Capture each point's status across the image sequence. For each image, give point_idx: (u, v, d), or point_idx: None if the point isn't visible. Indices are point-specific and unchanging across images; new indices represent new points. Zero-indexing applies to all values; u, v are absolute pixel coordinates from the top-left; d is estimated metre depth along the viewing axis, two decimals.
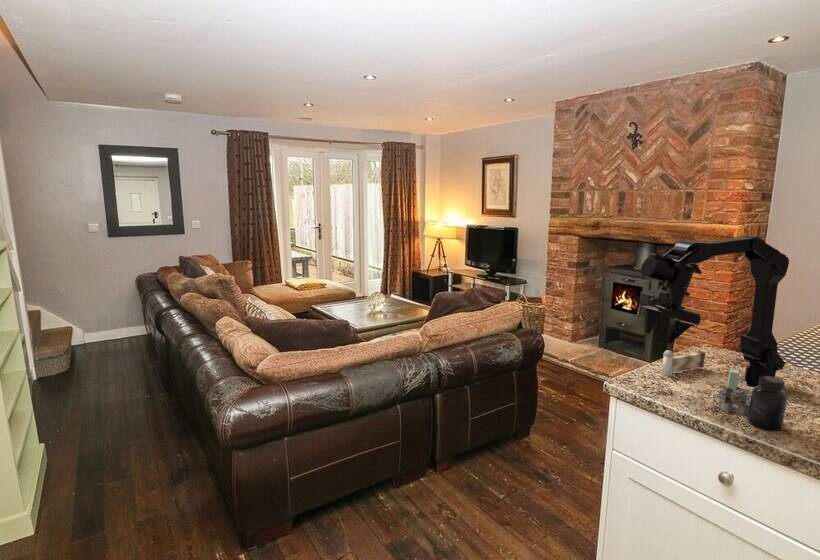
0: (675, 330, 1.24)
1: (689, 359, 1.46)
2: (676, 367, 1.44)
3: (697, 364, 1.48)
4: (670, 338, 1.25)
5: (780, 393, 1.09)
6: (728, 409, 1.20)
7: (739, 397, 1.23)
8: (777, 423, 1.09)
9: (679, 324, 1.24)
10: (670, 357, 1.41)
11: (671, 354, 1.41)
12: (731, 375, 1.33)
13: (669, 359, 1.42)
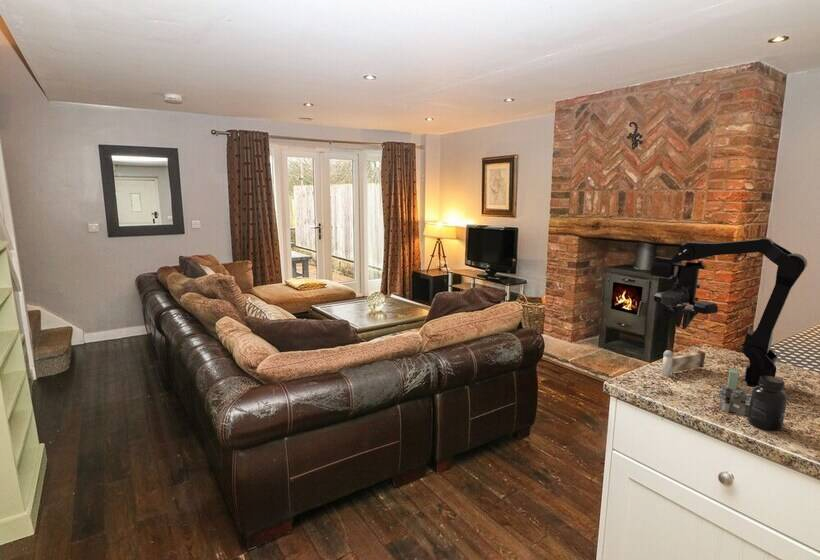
0: (688, 318, 1.47)
1: (689, 359, 1.46)
2: (676, 367, 1.44)
3: (697, 364, 1.48)
4: (685, 325, 1.48)
5: (780, 393, 1.09)
6: (729, 409, 1.20)
7: (739, 397, 1.23)
8: (777, 423, 1.09)
9: None
10: (670, 357, 1.41)
11: (671, 354, 1.41)
12: (731, 375, 1.33)
13: (669, 359, 1.42)
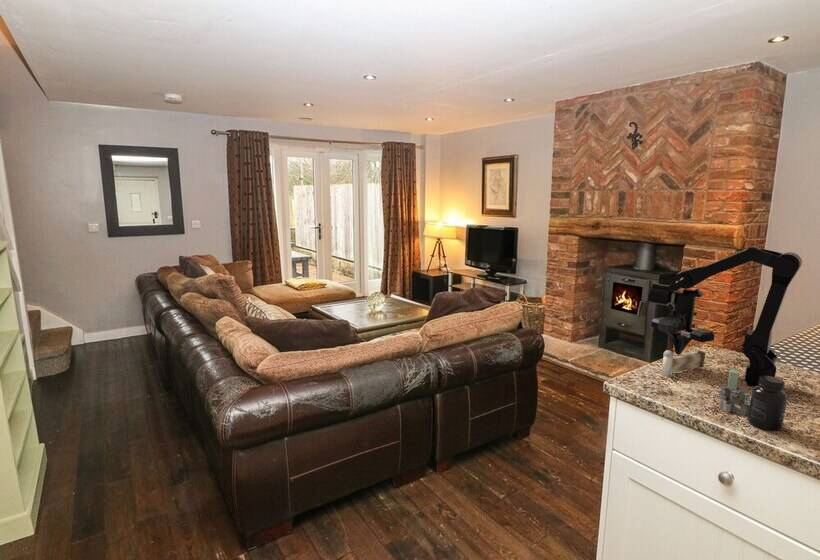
0: (682, 343, 1.49)
1: (689, 359, 1.46)
2: (676, 367, 1.44)
3: (697, 364, 1.48)
4: (679, 350, 1.50)
5: (780, 393, 1.09)
6: (730, 410, 1.20)
7: (738, 397, 1.23)
8: (777, 423, 1.09)
9: None
10: (670, 357, 1.41)
11: (671, 354, 1.41)
12: (731, 375, 1.33)
13: (669, 359, 1.42)
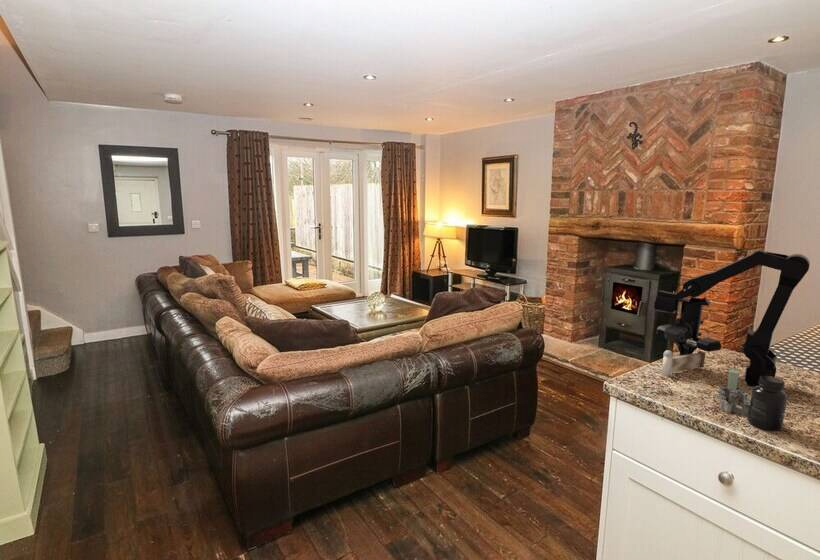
0: (688, 352, 1.48)
1: (689, 359, 1.46)
2: (676, 367, 1.44)
3: (697, 364, 1.48)
4: None
5: (780, 393, 1.09)
6: (731, 410, 1.19)
7: (738, 397, 1.23)
8: (777, 423, 1.09)
9: None
10: (670, 357, 1.41)
11: (671, 354, 1.41)
12: (731, 375, 1.33)
13: (669, 359, 1.42)
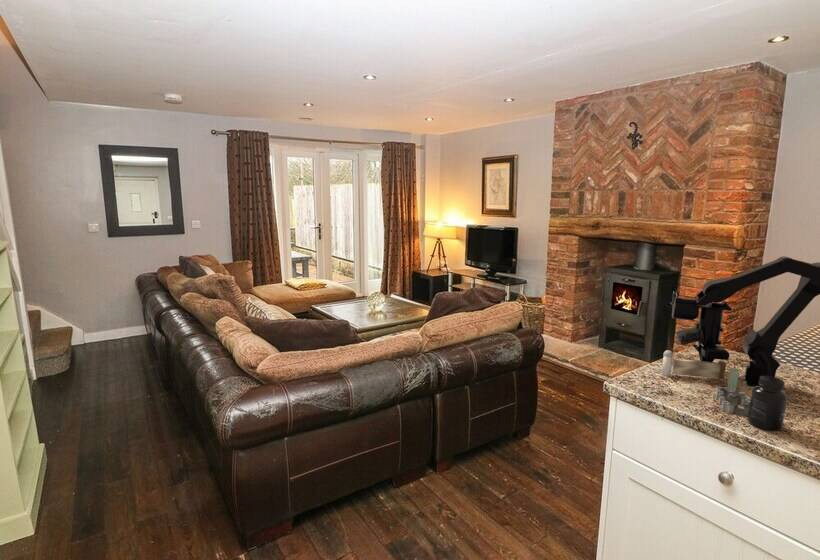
0: (705, 359, 1.41)
1: (701, 366, 1.40)
2: (679, 370, 1.42)
3: (714, 374, 1.40)
4: None
5: (780, 393, 1.09)
6: (733, 411, 1.19)
7: (737, 396, 1.23)
8: (777, 423, 1.09)
9: None
10: (670, 357, 1.41)
11: (671, 354, 1.41)
12: (731, 375, 1.33)
13: (669, 359, 1.42)
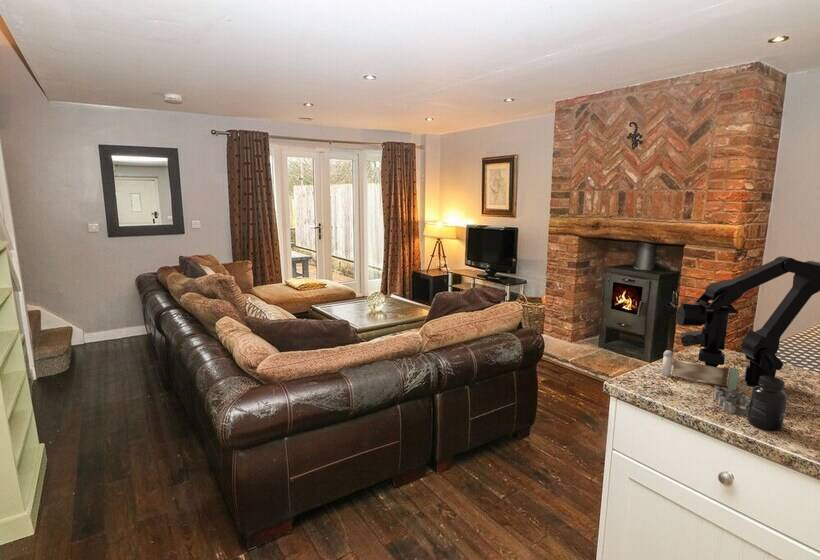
0: (708, 363, 1.38)
1: (701, 369, 1.37)
2: (679, 371, 1.41)
3: (716, 379, 1.36)
4: None
5: (780, 393, 1.09)
6: (735, 411, 1.19)
7: (736, 396, 1.23)
8: (777, 423, 1.09)
9: None
10: (670, 357, 1.41)
11: (671, 354, 1.41)
12: (731, 375, 1.33)
13: (669, 359, 1.42)
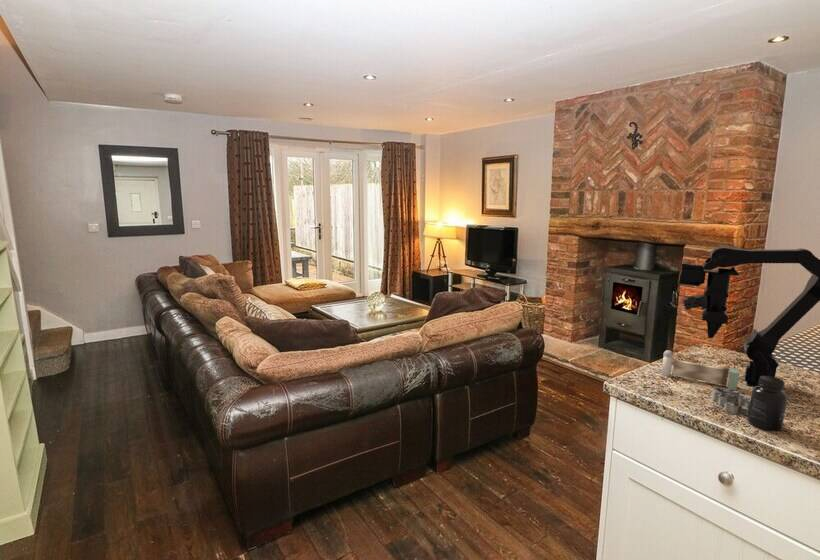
0: (710, 326, 1.40)
1: (701, 369, 1.37)
2: (679, 371, 1.41)
3: (716, 379, 1.36)
4: (709, 333, 1.41)
5: (780, 393, 1.09)
6: (737, 411, 1.19)
7: (735, 396, 1.23)
8: (777, 423, 1.09)
9: None
10: (670, 357, 1.41)
11: (671, 354, 1.41)
12: (731, 375, 1.33)
13: (669, 359, 1.42)
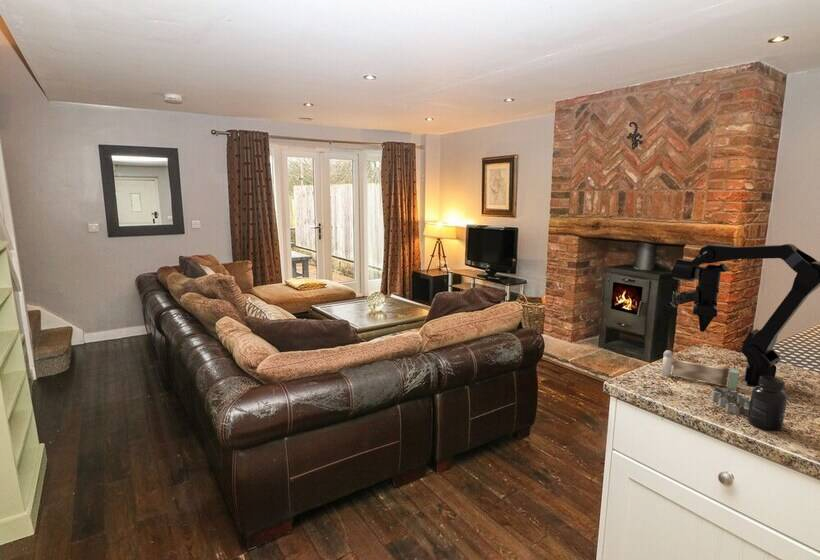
0: (702, 320, 1.46)
1: (701, 369, 1.37)
2: (679, 371, 1.41)
3: (716, 379, 1.36)
4: (700, 327, 1.48)
5: (780, 393, 1.09)
6: (738, 412, 1.18)
7: (734, 396, 1.23)
8: (777, 423, 1.09)
9: None
10: (670, 357, 1.41)
11: (671, 354, 1.41)
12: (731, 375, 1.33)
13: (669, 359, 1.42)
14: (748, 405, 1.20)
